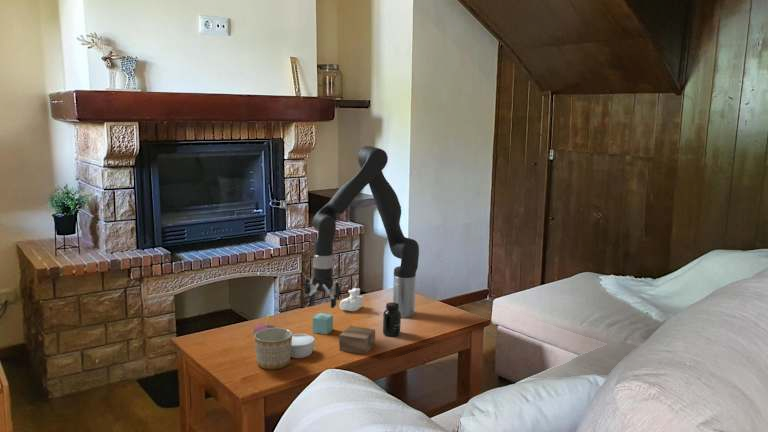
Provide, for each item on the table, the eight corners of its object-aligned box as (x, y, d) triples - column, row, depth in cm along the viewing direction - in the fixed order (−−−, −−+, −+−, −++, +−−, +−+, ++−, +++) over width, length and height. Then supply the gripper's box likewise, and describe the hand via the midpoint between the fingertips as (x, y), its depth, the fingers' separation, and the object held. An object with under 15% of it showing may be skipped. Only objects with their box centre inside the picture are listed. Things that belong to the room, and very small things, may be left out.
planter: (248, 361, 207) (248, 332, 205) (282, 353, 214) (282, 325, 212) (264, 374, 197) (263, 344, 195) (298, 365, 204) (298, 336, 202)
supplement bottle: (398, 337, 231) (399, 307, 229) (381, 336, 232) (381, 306, 230) (401, 331, 238) (402, 302, 235) (384, 329, 239) (385, 300, 237)
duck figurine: (341, 317, 258) (350, 302, 251) (333, 303, 262) (342, 287, 255) (364, 312, 265) (373, 297, 258) (356, 298, 269) (365, 283, 262)
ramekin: (313, 346, 221) (313, 332, 220) (316, 358, 210) (316, 344, 209) (282, 348, 219) (281, 334, 218) (283, 360, 208) (283, 346, 207)
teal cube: (318, 327, 240) (319, 312, 239) (332, 329, 238) (333, 314, 237) (312, 332, 235) (312, 317, 233) (326, 334, 233) (326, 319, 232)
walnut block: (349, 341, 227) (349, 325, 226) (374, 344, 224) (375, 329, 223) (339, 350, 218) (339, 335, 217) (365, 355, 215) (365, 339, 214)
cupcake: (280, 340, 226) (280, 309, 224) (268, 348, 218) (268, 316, 216) (260, 337, 229) (259, 306, 226) (248, 345, 221) (247, 313, 218)
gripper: (344, 265, 233) (343, 305, 236) (310, 261, 237) (309, 301, 240) (336, 269, 226) (335, 311, 229) (302, 265, 230) (301, 306, 233)
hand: (322, 306), depth 234 cm, fingers open, 8 cm apart
